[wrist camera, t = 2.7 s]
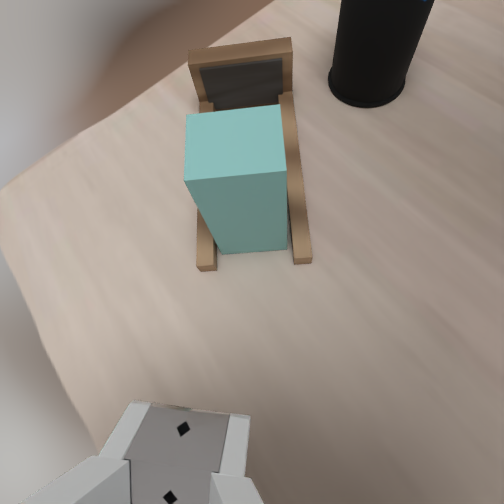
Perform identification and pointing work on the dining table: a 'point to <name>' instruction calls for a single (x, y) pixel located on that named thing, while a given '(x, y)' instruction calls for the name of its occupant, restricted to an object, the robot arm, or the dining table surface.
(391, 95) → the aerosol can
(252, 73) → the channel
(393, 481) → the dining table surface
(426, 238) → the dining table surface
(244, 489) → the robot arm
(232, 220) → the teal rectangular block
